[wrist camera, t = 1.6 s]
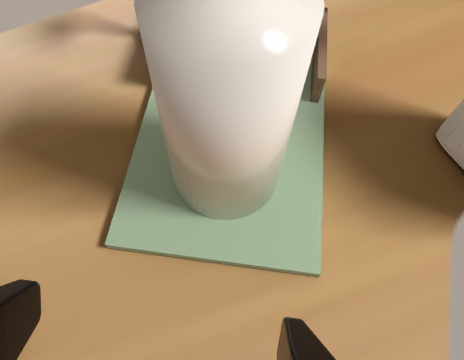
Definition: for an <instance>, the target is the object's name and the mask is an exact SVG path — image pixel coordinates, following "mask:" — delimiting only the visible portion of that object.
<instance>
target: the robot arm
mask: <svg viewBox="0 0 464 360" xmlns="http://www.w3.org/2000/svg"><path fill="white" fill-rule="evenodd" d="M40 316H41V295H40V285H39V283H38V282H36V281H29V280H17V281H14V282H11V283H8V284H5V285H3V286H0V360H17V358H18V357H19V355H20V353H21V352H22V350H23V348H24V346H25V345H26V343H27V341H28V340H29V338H30V336H31V334H32V333H33V331H34V329H35V328H36V326H37V324H38V322H39V320H40ZM277 360H336V359H335V358H334V357H333V356H332V354H331V353H330V352H329V351H328V350H327V348H326V347H325V346H324V345H323V344H322V343H321V341H320V340H319V339H318V338H317V337H316V335H315V334H314V333H313V332H312V331H311V330H310V328H309V327H308V326H307V325H306V324H305V322H304V321H303V320H301V319H297V318H289V317H285V318H284V319H283V321H282V326H281V332H280V338H279V344H278V350H277Z"/></svg>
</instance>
